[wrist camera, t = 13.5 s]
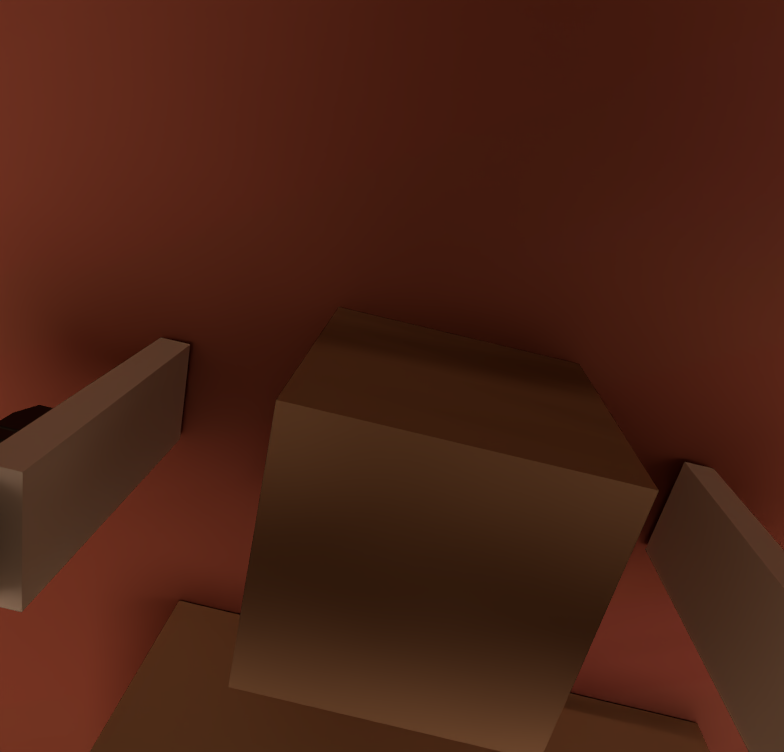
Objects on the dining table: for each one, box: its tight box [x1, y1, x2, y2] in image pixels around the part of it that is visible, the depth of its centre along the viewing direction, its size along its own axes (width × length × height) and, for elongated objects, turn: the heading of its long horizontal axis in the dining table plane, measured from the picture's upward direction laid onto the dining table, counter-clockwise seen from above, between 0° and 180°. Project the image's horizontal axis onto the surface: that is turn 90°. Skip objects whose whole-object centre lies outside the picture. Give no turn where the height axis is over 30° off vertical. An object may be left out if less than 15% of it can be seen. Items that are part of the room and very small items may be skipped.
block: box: [228, 307, 659, 752], centre depth 13 cm, size 6×6×6 cm
